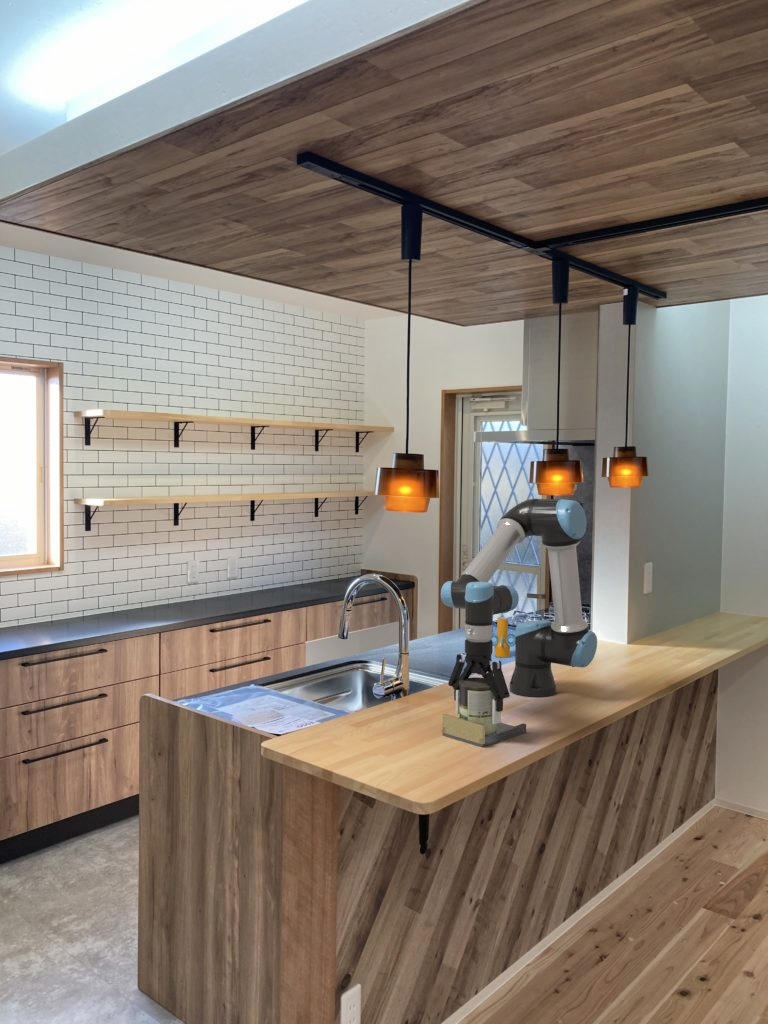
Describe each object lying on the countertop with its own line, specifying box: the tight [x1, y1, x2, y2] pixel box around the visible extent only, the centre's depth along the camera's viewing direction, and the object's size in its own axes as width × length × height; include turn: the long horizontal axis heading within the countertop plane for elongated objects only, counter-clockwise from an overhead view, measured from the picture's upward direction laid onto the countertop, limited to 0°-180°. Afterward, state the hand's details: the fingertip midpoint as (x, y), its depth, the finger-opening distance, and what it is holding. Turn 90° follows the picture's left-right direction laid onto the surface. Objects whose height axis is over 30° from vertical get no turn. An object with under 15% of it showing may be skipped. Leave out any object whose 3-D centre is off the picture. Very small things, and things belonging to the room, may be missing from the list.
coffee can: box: [458, 677, 496, 736], centre depth 232 cm, size 10×10×14 cm
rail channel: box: [442, 713, 527, 748], centre depth 235 cm, size 19×14×6 cm
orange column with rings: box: [491, 616, 515, 659], centre depth 334 cm, size 12×10×15 cm
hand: (477, 717), depth 233 cm, fingers open, 12 cm apart
